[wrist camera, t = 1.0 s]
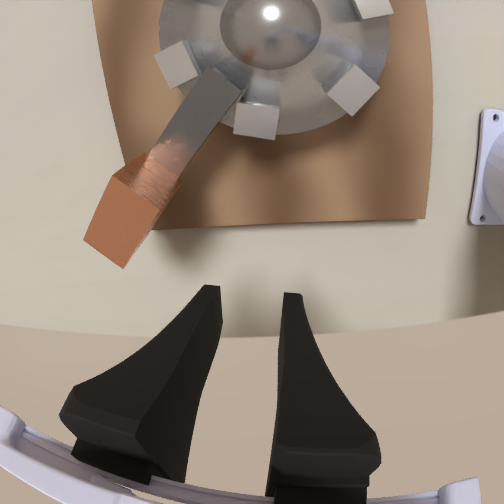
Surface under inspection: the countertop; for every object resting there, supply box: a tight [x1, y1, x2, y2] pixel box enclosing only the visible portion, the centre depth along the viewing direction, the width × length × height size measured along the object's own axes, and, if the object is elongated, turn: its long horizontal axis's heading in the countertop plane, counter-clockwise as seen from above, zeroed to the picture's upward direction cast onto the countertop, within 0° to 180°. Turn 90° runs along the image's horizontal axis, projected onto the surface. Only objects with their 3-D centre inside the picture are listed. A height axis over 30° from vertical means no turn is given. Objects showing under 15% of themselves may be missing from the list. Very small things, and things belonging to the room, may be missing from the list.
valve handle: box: [83, 0, 394, 269], centre depth 12 cm, size 17×10×6 cm, turn 143°
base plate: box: [92, 0, 433, 230], centre depth 14 cm, size 18×22×2 cm
